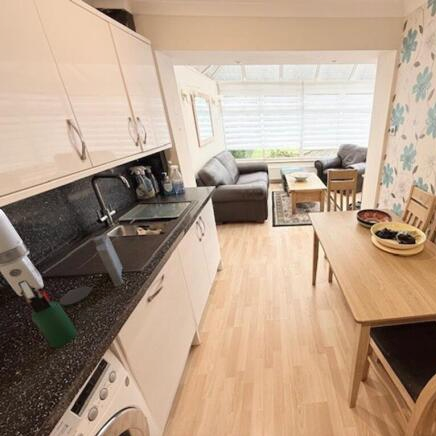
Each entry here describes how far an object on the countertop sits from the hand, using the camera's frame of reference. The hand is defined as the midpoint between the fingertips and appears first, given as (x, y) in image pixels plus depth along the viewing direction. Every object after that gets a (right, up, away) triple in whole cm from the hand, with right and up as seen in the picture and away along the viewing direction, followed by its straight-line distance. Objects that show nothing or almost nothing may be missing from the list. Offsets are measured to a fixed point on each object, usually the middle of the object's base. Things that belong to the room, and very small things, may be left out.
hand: (42, 305), depth 70 cm
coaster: (-11, -5, +24) cm, 27 cm away
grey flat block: (-2, 0, +34) cm, 34 cm away
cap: (0, +1, 0) cm, 1 cm away
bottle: (+1, -13, +6) cm, 14 cm away
